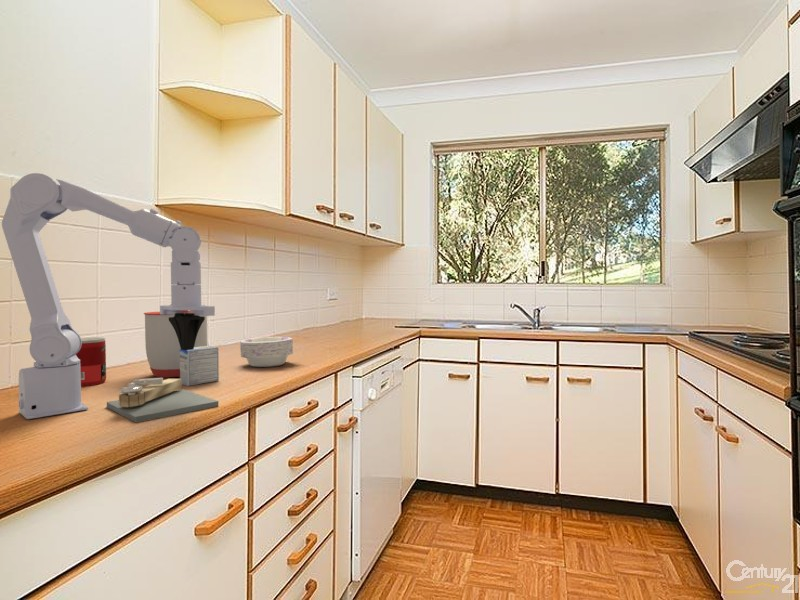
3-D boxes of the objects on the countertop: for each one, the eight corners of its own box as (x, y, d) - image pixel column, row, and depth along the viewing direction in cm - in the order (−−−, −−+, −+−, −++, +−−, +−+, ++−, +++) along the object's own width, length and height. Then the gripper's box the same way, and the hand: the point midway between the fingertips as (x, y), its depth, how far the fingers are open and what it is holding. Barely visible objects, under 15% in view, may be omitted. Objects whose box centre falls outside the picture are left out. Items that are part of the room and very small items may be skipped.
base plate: (135, 422, 82) (135, 416, 82) (106, 407, 93) (106, 402, 93) (218, 406, 93) (218, 401, 93) (184, 393, 104) (184, 389, 104)
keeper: (162, 403, 95) (161, 379, 95) (133, 406, 93) (132, 380, 93) (163, 401, 97) (162, 377, 96) (134, 404, 95) (134, 379, 95)
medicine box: (210, 379, 121) (209, 345, 121) (219, 381, 118) (218, 346, 118) (179, 384, 115) (178, 348, 114) (188, 386, 112) (187, 350, 112)
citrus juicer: (201, 366, 140) (200, 299, 139) (214, 375, 125) (213, 300, 124) (141, 372, 131) (140, 300, 130) (148, 382, 116) (146, 301, 116)
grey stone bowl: (237, 363, 145) (236, 337, 145) (286, 359, 152) (285, 335, 152) (245, 371, 132) (244, 342, 132) (298, 366, 139) (298, 339, 138)
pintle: (124, 415, 86) (124, 386, 86) (118, 412, 89) (117, 383, 88) (145, 411, 89) (145, 382, 89) (139, 408, 91) (138, 380, 91)
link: (134, 407, 87) (134, 396, 86) (114, 406, 87) (114, 396, 87) (184, 387, 103) (184, 378, 103) (166, 387, 103) (166, 378, 103)
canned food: (110, 383, 116) (109, 338, 116) (71, 388, 110) (70, 341, 110) (101, 379, 122) (100, 336, 121) (63, 384, 116) (62, 339, 115)
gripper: (226, 284, 99) (227, 349, 99) (179, 285, 105) (181, 345, 106) (197, 284, 92) (198, 353, 93) (150, 285, 99) (151, 349, 100)
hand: (187, 349), depth 99 cm, fingers closed
